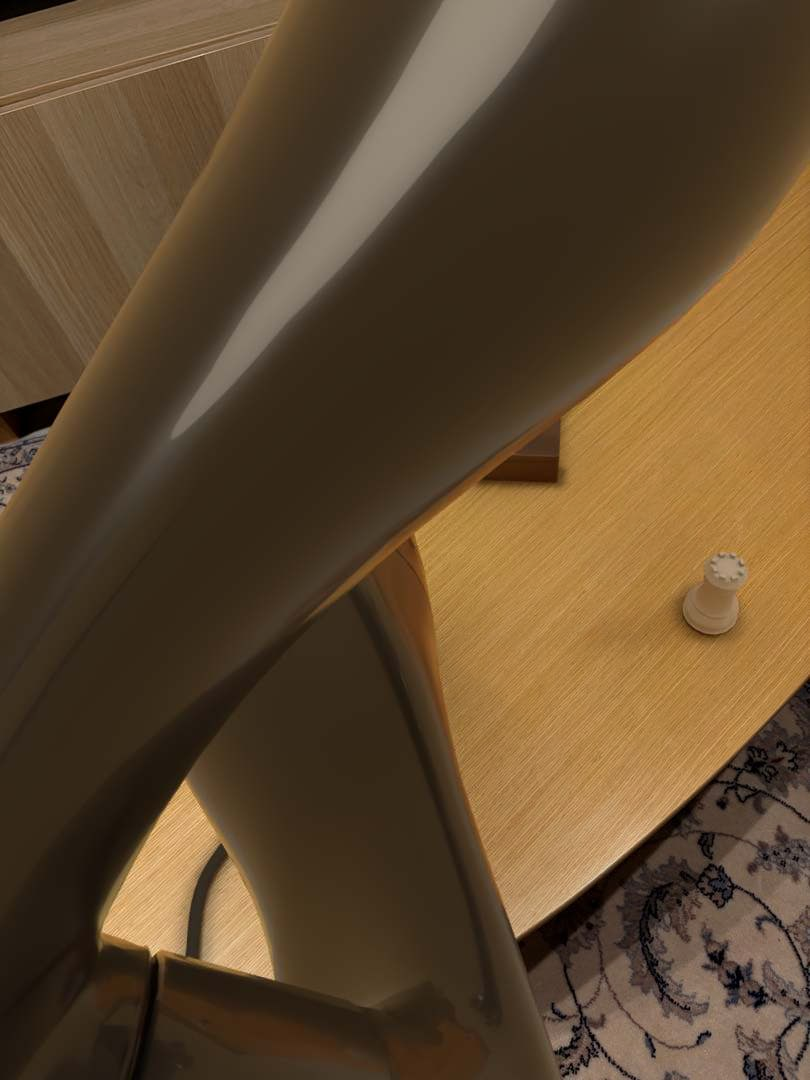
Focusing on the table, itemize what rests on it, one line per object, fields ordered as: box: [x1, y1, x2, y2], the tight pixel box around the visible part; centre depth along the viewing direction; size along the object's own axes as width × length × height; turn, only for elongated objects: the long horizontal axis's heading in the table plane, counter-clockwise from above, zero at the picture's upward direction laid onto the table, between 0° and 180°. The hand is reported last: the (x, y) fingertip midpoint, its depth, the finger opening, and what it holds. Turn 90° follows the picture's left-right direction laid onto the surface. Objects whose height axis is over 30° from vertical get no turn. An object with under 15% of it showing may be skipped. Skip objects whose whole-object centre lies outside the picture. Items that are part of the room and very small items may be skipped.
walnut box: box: [481, 417, 562, 483], centre depth 85 cm, size 14×10×4 cm
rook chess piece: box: [682, 550, 749, 635], centre depth 70 cm, size 4×4×8 cm
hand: (538, 78), depth 45 cm, fingers open, 8 cm apart
